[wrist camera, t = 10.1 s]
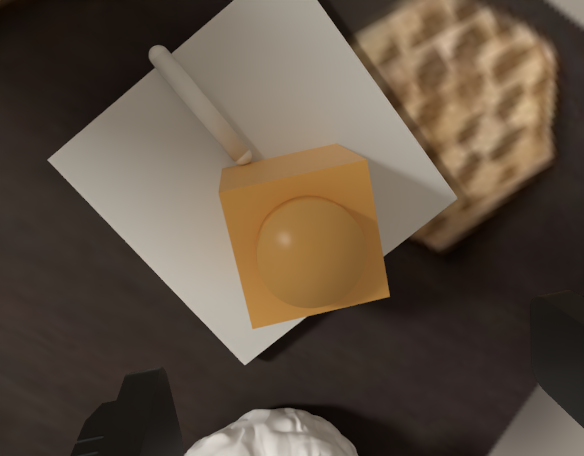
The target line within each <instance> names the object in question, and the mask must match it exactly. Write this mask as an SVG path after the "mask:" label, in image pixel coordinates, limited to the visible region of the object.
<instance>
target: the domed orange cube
mask: <svg viewBox="0 0 584 456" xmlns="http://www.w3.org/2000/svg"><path fill="white" fill-rule="evenodd" d="M218 193H219V197H220V201H221V205H222V209H223V213H224V217H225V221H226V225H227V229H228V233H229V237H230V241H231V245H232V249H233V253H234V257H235V261H236V265H237V269H238V273H239V277H240V281H241V285H242V289H243V293H244V297H245V301H246V305H247V309H248V313H249V317H250V321H251V325H252V329H256V328H260V327H264V326H269V325H273V324H277V323H281V322H285V321H290V320H294V319H298V318H302V317H306V316H311V315H315V314H319V313H323V312H327V311H332V310H336V309H340V308H344V307H349V306H353V305H357V304H361V303H365V302H370V301H374V300H378V299H382V298H386V297H390V294H389V288H388V282H387V276H386V270H385V264H384V258H383V252H382V246H381V240H380V234H379V228H378V222H377V216H376V210H375V204H374V198H373V192H372V186H371V180H370V174H369V168H368V162H367V159H366V158H364V157H362V156H360V155H358V154H356V153H354V152H352V151H350V150H348V149H346V148H344V147H343V146H341V145H339V144H337V143H336V144H331V145H327V146H322V147H318V148H313V149H309V150H304V151H299V152H295V153H290V154H286V155H281V156H277V157H272V158H268V159H263V160H259V161H254V162H250V163H248V164H246V165H236V166H232V167H227V168H223V169H222V172H221V179H220V185H219V192H218Z"/></svg>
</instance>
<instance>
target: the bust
mask: <svg viewBox="0 0 584 456" xmlns="http://www.w3.org/2000/svg"><path fill="white" fill-rule="evenodd" d="M184 456H358V454H357V452H356V448H355V446H354V445H353V444H352V443H351V442H350V441H349V440H348V439H347V438H346V437H344V436H343V435H341V434H340V432H339V430H338V429H337V428H336V427H334V426H333V425H332V424H331V423H330V422H328V421H326V420H325V419H323V418H322V417H320V416H316V415H311V414H310V413H309V412H307V411H303V410H296V409H293V408H279V409H255V410H252V411H250V412H248V413H246V414H244V415H243V416H242V417H241V418H239V419H238V420H237V421H236V422H234V423H231V424H230V425H228V426H227V427H225V428H223V429H221V430H219V431H217V432H215V433H213V434H211V435H209V436H206V437H204V438H203V439H200V440H199V441H197V442H196V443H195V444H194V445H193V446H192V447H191V448H190V449H189V450H188V451H187V453H186V454H185V455H184Z"/></svg>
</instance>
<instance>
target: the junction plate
mask: <svg viewBox="0 0 584 456" xmlns="http://www.w3.org/2000/svg"><path fill="white" fill-rule="evenodd" d="M149 59H150V61H151V63H152V64H153V65H154V66H155V68H154V69H153V70H152V71H151V72H149V73H148V74H147V75H146V76H145V77H144V78H142V79H141V80H140V81H139V82H138V83H137V84H135V85H134V86H133V87H132V88H131V89H130V90H128V91H127V92H126V93H125V94H124V95H123V96H121V97H120V98H119V99H118V100H117V101H116V102H114V103H113V104H112V105H111V106H110V107H109V108H107V109H106V110H105V111H104V112H103V113H102V114H100V115H99V116H98V117H97V118H96V119H94V120H93V121H92V122H91V123H90V124H89V125H87V126H86V127H85V128H84V129H83V130H82V131H80V132H79V133H78V134H77V135H76V136H75V137H73V138H72V139H71V140H70V141H69V142H68V143H66V144H65V145H64V146H63V147H62V148H61V149H59V150H58V151H57V152H56V153H55V154H54V155H52V156H51V157H50V158H49V159H48V161H49V162H50V163H51V164H52V165H53V166H54V167H55V168H56V169H57V170H58V171H59V172H60V174H61V175H62V176H63V177H64V178H65V179H66V180H67V181H68V182H69V183H70V184H71V185H72V186H73V187H74V188H75V189H76V190H77V191H78V192H79V193H80V194H81V195H82V196H83V197H84V198H85V200H86V201H87V202H88V203H89V204H90V205H91V206H92V207H93V208H94V209H95V210H96V211H97V212H98V213H99V214H100V215H101V216H102V217H103V218H104V219H105V220H106V221H107V222H108V223H109V225H110V226H111V227H112V228H113V229H114V230H115V231H116V232H117V233H118V234H119V235H120V236H121V237H122V238H123V239H124V240H125V241H126V242H127V243H128V244H129V245H130V246H131V247H132V248H133V249H134V251H135V252H136V253H137V254H138V255H139V256H140V257H141V258H142V259H143V260H144V261H145V262H146V263H147V264H148V265H149V266H150V267H151V268H152V269H153V270H154V271H155V272H156V273H157V274H158V276H159V277H160V278H161V279H162V280H163V281H164V282H165V283H166V284H167V285H168V286H169V287H170V288H171V289H172V290H173V291H174V292H175V293H176V294H177V295H178V296H179V297H180V298H181V299H182V301H183V302H184V303H185V304H186V305H187V306H188V307H189V308H190V309H191V310H192V311H193V312H194V313H195V314H196V315H197V316H198V317H199V318H200V319H201V320H202V321H203V322H204V323H205V324H206V325H207V327H208V328H209V329H210V330H211V331H212V332H213V333H214V334H215V335H216V336H217V337H218V338H219V339H220V340H221V341H222V342H223V343H224V344H225V345H226V346H227V347H228V348H229V349H230V350H231V352H232V353H233V354H234V355H235V356H236V357H237V358H238V359H239V360H240V361H241V362H242V363H243V364H244V365H246V364H247V363H248V362H250V361H251V360H252V359H253V358H255V357H256V356H257V355H258V354H260V353H261V352H262V351H264V350H265V349H266V348H267V347H269V346H270V345H271V344H273V343H274V342H275V341H276V340H278V339H279V338H280V337H282V336H283V335H284V334H285V333H287V332H288V331H289V330H290V329H292V328H293V327H294V326H296V325H297V324H298V323H299V322H301V321H302V320H303V319H305V318H306V317H307V316H306V317H302V318H298V319H294V320H290V321H285V322H281V323H277V324H273V325H269V326H264V327H260V328H256V329H252V325H251V321H250V317H249V313H248V309H247V305H246V301H245V297H244V293H243V289H242V285H241V281H240V277H239V273H238V269H237V265H236V261H235V257H234V253H233V249H232V245H231V241H230V237H229V233H228V229H227V225H226V221H225V217H224V213H223V209H222V205H221V201H220V197H219V193H218V192H219V185H220V179H221V172H222V169H223V168H227V167H232V166H236V165H246V164H248V163H250V162H254V161H259V160H263V159H268V158H272V157H277V156H281V155H286V154H290V153H295V152H299V151H304V150H309V149H313V148H318V147H322V146H327V145H331V144H336V143H337V144H339V145H341V146H343V147H344V148H346V149H348V150H350V151H352V152H354V153H356V154H358V155H360V156H362V157H364V158H366V159H367V162H368V168H369V174H370V180H371V186H372V192H373V198H374V204H375V210H376V216H377V222H378V228H379V234H380V240H381V246H382V252H383V257H384V256H385V255H386V254H388V253H389V252H390V251H391V250H393V249H394V248H395V247H397V246H398V245H399V244H400V243H402V242H403V241H404V240H406V239H407V238H408V237H409V236H411V235H412V234H413V233H415V232H416V231H417V230H418V229H420V228H421V227H422V226H423V225H425V224H426V223H427V222H429V221H430V220H431V219H432V218H434V217H435V216H436V215H438V214H439V213H440V212H441V211H443V210H444V209H445V208H446V207H448V206H449V205H450V204H452V203H453V202H454V201H455V200H457V199H458V198H457V197H456V195H455V194H454V192H453V191H452V190H451V188H450V187H449V185H448V184H447V183H446V181H445V180H444V178H443V177H442V175H441V174H440V173H439V171H438V170H437V168H436V167H435V166H434V164H433V163H432V161H431V160H430V159H429V157H428V156H427V154H426V153H425V151H424V150H423V149H422V147H421V146H420V144H419V143H418V142H417V140H416V139H415V137H414V136H413V135H412V133H411V132H410V130H409V129H408V128H407V126H406V125H405V123H404V122H403V120H402V119H401V118H400V116H399V115H398V113H397V112H396V111H395V109H394V108H393V106H392V105H391V104H390V102H389V101H388V99H387V98H386V97H385V95H384V94H383V92H382V91H381V89H380V88H379V87H378V85H377V84H376V82H375V81H374V80H373V78H372V77H371V75H370V74H369V73H368V71H367V70H366V68H365V67H364V66H363V64H362V63H361V61H360V60H359V58H358V57H357V56H356V54H355V53H354V51H353V50H352V49H351V47H350V46H349V44H348V43H347V42H346V40H345V39H344V37H343V36H342V35H341V33H340V32H339V30H338V29H337V27H336V26H335V25H334V23H333V22H332V20H331V19H330V18H329V16H328V15H327V13H326V12H325V11H324V9H323V8H322V6H321V5H320V3H319V2H318V1H317V0H234V1H232V2H231V3H230V4H229V5H228V6H227V7H225V8H224V9H223V10H222V11H221V12H220V13H218V14H217V15H216V16H215V17H214V18H213V19H211V20H210V21H209V22H208V23H207V24H206V25H204V26H203V27H202V28H201V29H200V30H199V31H197V32H196V33H195V34H194V35H193V36H192V37H190V38H189V39H188V40H187V41H186V42H185V43H183V44H182V45H181V46H180V47H179V48H178V49H176V50H175V51H174V52H173V53H172V54H171V53H170V52H169V51H168V50H167V49H166V48H165V47H164V46H161V45H155V46H153V47H152V48H151V49H150V51H149Z"/></svg>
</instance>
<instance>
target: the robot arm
mask: <svg viewBox="0 0 584 456" xmlns="http://www.w3.org/2000/svg"><path fill="white" fill-rule="evenodd" d="M530 325H531V362H532V368H533V371H534V374H535V377H536V379H537V381H538V383H539V384H540V386H541V387H542V389H543V390H544V391H545V392H546V393H547V394H548V395H549V396H551V397H552V398H553V399H554V400H555V401H556V402H557V403H558V404H559V405H560V406H561V407H562V408H563V409H564V410H565V411H566V412H567V413H568V414H569V415H570V416H572V418H573V419H575V420H576V421H577V422H578V423H579V424H580V425H581V426H582V427H583V428H584V297H582V296H581V295H579V294H577V293H575V292H574V291H571V290H566V291H561V292H556V293H551V294H546V295H540V296H536V297H534V298H533V299H532V301H531V305H530ZM71 456H183V444H182V436H181V431H180V426H179V422H178V418H177V414H176V410H175V406H174V402H173V397H172V393H171V389H170V385H169V381H168V377H167V374H166V371H165V369H164V368H163V367H160V368H155V369H150V370H144V371H139V372H134V373H129V374H126V376H125V378H124V381H123V383H122V386H121V389H120V392H119V395H118V398H117V400H116V401H112V402H107V403H102V404H101V405H100V406H99V407H98V408H97V409H96V411H95V412H94V413H93V414H92V415H91V416H90V417H89V418H88V419H87V420H86V421H85V423H84V425H83V427H82V430H81V432H80V435H79V437H78V439H77V444H75V446H74V449H73V451H72V453H71Z"/></svg>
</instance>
